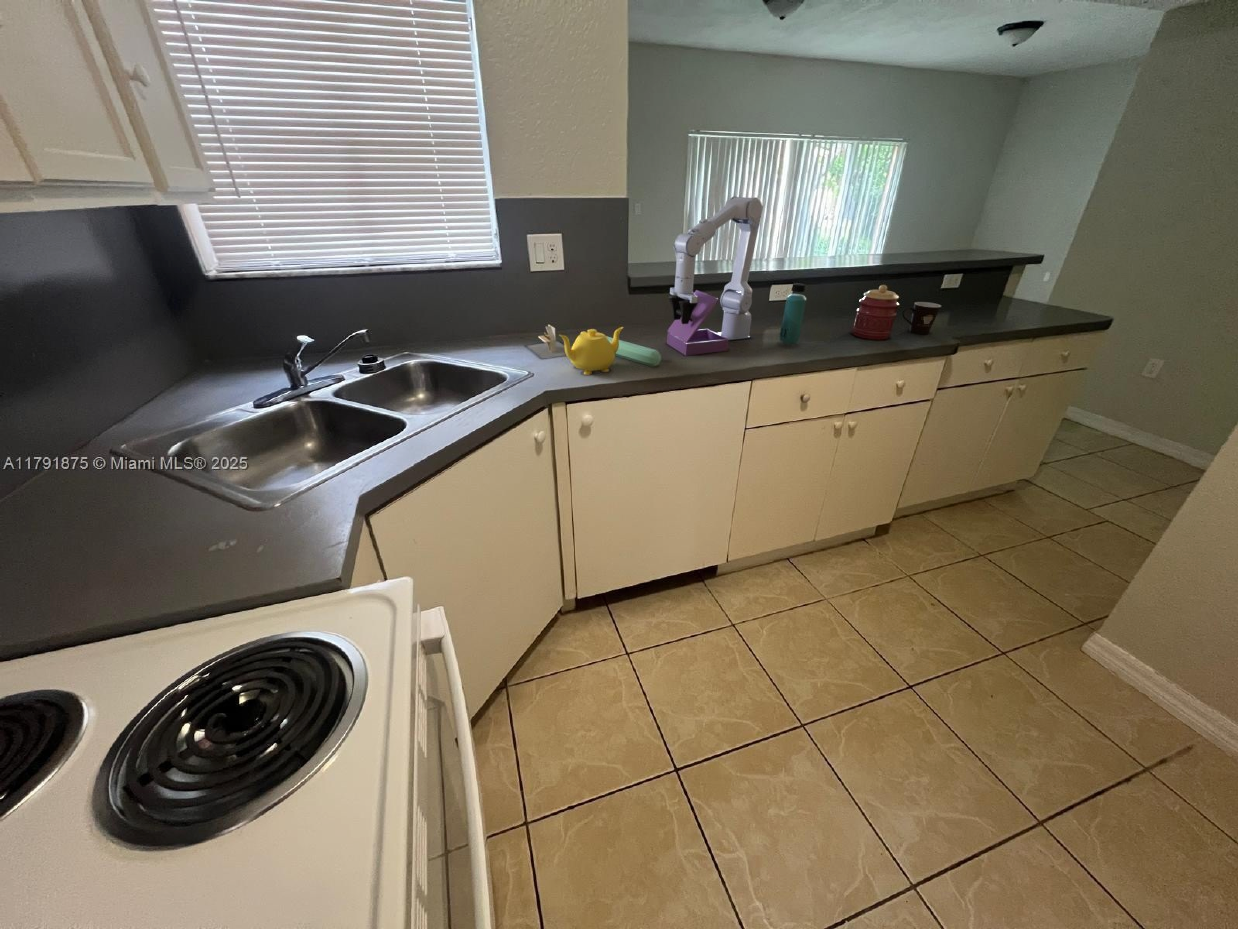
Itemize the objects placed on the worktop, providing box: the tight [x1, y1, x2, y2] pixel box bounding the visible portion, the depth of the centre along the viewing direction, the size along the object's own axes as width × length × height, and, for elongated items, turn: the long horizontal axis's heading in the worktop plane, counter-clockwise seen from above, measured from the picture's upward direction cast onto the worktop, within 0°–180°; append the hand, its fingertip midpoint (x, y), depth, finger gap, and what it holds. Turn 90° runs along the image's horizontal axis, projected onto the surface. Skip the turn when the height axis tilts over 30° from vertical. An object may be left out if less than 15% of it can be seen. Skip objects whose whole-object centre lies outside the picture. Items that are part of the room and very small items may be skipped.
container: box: [605, 335, 662, 368], centre depth 151 cm, size 6×6×25 cm
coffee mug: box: [901, 301, 942, 335], centre depth 182 cm, size 12×9×10 cm
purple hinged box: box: [667, 289, 720, 343], centre depth 155 cm, size 16×14×5 cm
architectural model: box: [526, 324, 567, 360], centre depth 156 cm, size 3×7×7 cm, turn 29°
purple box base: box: [666, 328, 730, 356], centre depth 162 cm, size 16×14×4 cm
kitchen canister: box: [851, 284, 901, 341], centre depth 174 cm, size 13×13×18 cm
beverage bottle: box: [779, 283, 807, 344], centre depth 161 cm, size 6×7×20 cm
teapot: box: [558, 326, 624, 376], centre depth 141 cm, size 20×15×12 cm
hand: (680, 321), depth 156 cm, fingers closed on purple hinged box, 5 cm apart
